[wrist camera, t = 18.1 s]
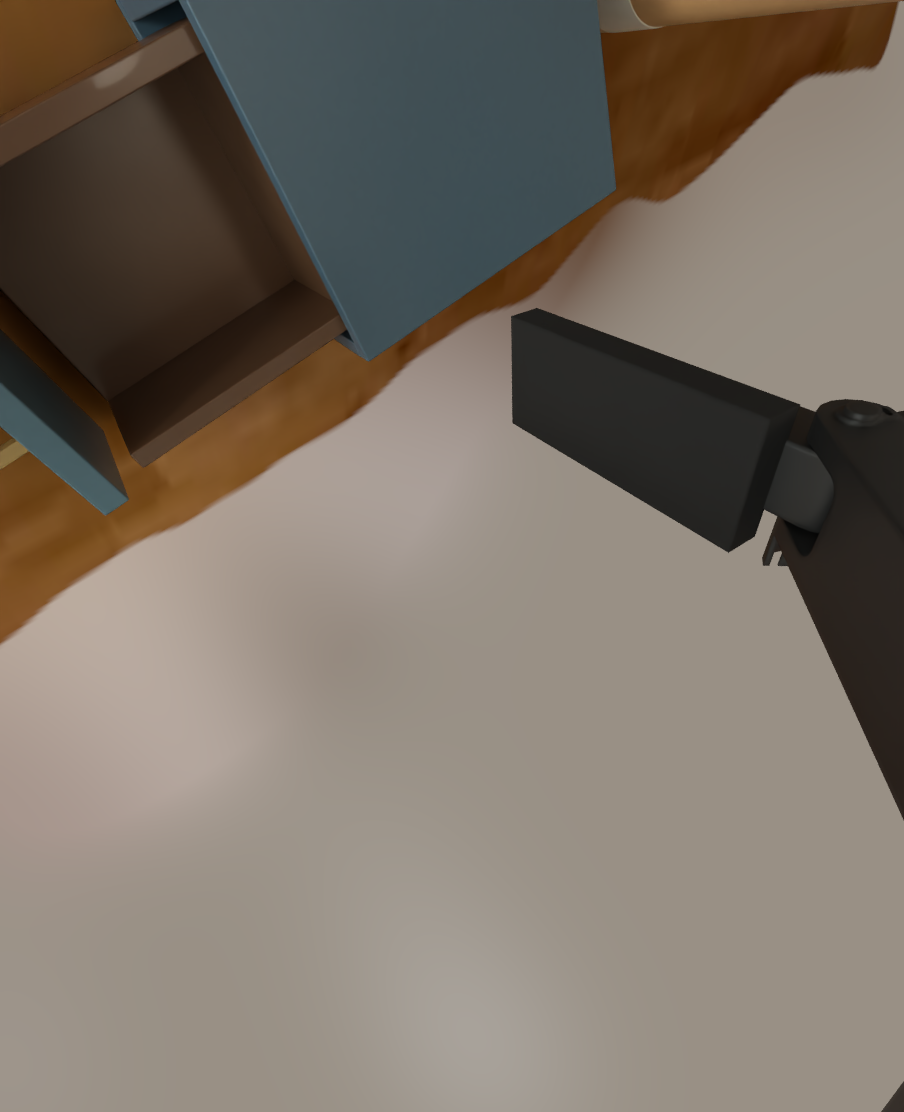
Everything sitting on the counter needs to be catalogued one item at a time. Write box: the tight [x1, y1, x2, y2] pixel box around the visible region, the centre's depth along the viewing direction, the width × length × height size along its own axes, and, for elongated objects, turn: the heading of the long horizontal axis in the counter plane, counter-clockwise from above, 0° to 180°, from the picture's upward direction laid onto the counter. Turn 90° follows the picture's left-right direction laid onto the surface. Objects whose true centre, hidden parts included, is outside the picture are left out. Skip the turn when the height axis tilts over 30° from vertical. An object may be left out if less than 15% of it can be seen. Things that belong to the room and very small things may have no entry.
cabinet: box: [116, 0, 616, 361], centre depth 26 cm, size 16×14×10 cm
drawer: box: [0, 17, 347, 515], centre depth 23 cm, size 19×12×8 cm, turn 114°
